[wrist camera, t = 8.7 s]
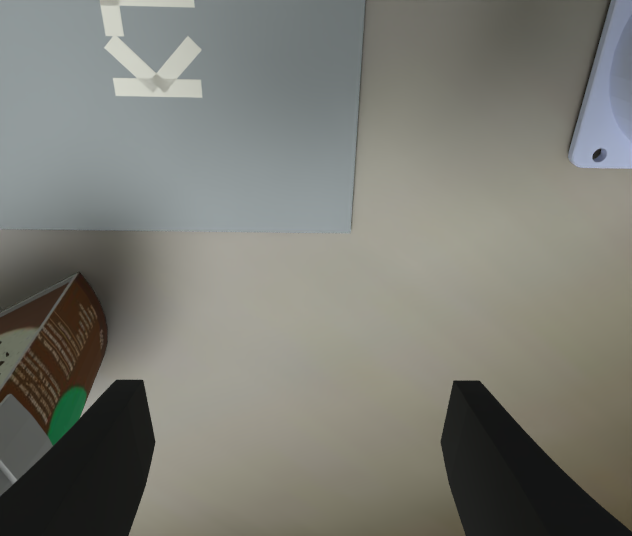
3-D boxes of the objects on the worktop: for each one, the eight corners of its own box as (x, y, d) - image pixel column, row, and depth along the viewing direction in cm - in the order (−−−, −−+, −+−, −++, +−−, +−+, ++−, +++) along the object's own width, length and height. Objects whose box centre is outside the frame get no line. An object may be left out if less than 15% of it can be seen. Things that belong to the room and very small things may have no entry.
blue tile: (379, -238, 13) (380, -242, 13) (349, 231, 20) (350, 233, 20) (-154, -261, 13) (-161, -264, 13) (1, 227, 20) (-2, 229, 20)
